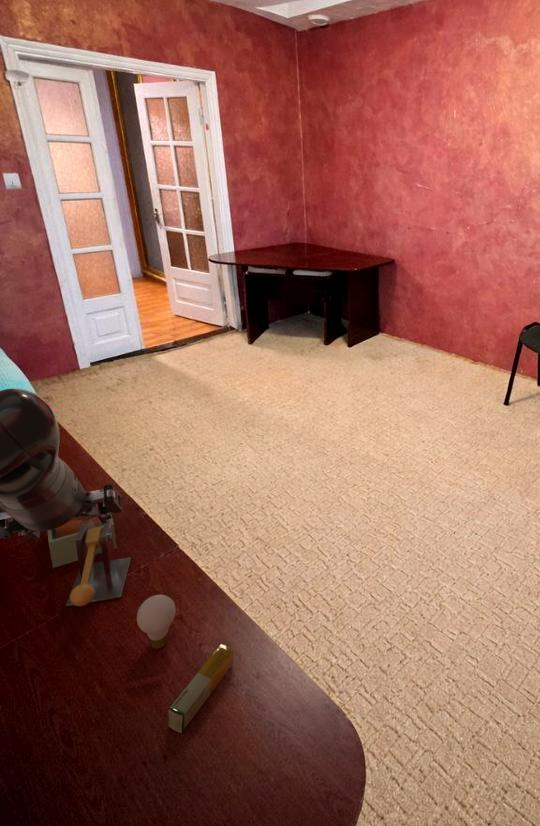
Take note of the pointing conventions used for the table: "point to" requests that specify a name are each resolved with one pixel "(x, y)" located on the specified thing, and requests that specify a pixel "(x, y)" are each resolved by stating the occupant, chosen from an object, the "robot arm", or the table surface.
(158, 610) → the light bulb
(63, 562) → the grey-green open bin
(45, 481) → the robot arm
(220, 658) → the medication box
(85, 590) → the tap lever
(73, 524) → the small box
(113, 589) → the grey metal angular piece
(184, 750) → the table surface
